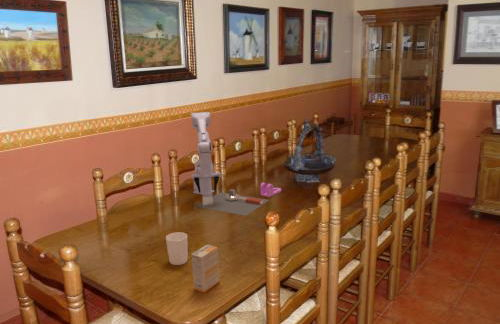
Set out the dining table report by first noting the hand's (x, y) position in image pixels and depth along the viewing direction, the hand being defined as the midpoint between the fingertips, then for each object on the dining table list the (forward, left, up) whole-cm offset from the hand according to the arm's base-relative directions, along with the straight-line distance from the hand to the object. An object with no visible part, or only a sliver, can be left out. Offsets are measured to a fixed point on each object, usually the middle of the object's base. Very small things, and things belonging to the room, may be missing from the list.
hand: (207, 191), depth 225 cm
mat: (+10, +7, -7) cm, 14 cm away
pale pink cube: (0, 0, -7) cm, 7 cm away
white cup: (+25, -55, -8) cm, 61 cm away
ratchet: (+14, +12, -7) cm, 20 cm away
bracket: (+21, +30, -8) cm, 37 cm away
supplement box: (+45, -65, -8) cm, 79 cm away
